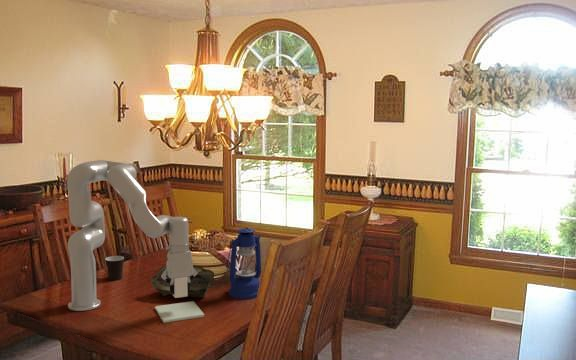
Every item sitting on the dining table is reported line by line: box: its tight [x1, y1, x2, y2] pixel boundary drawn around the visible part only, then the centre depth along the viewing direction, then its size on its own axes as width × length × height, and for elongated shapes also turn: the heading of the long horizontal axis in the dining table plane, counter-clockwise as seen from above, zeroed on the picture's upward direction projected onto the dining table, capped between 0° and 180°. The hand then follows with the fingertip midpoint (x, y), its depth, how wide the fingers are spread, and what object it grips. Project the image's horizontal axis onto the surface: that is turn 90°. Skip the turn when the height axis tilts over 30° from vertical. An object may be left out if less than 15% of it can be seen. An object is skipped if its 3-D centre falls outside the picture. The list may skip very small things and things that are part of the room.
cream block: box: [171, 277, 189, 299], centre depth 212 cm, size 5×5×8 cm
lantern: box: [226, 227, 262, 300], centre depth 236 cm, size 17×15×30 cm
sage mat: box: [154, 300, 205, 324], centre depth 213 cm, size 16×16×1 cm
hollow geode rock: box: [150, 265, 215, 299], centre depth 233 cm, size 28×13×15 cm
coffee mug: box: [105, 255, 125, 282], centre depth 255 cm, size 12×9×10 cm
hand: (179, 292), depth 212 cm, fingers closed on cream block, 5 cm apart
